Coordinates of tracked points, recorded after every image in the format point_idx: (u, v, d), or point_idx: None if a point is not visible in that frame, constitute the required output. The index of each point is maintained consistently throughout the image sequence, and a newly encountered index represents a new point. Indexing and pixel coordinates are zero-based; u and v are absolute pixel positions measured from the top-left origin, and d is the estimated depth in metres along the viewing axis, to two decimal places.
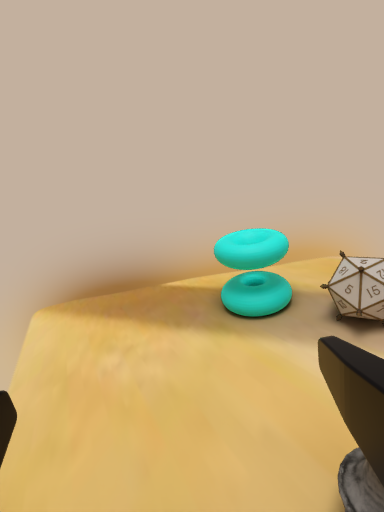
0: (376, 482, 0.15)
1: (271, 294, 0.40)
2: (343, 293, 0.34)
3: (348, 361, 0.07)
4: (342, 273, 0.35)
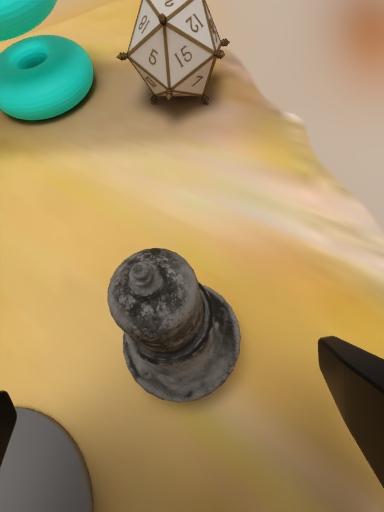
0: None
1: (57, 79, 0.27)
2: (148, 65, 0.24)
3: (348, 361, 0.07)
4: (143, 28, 0.23)
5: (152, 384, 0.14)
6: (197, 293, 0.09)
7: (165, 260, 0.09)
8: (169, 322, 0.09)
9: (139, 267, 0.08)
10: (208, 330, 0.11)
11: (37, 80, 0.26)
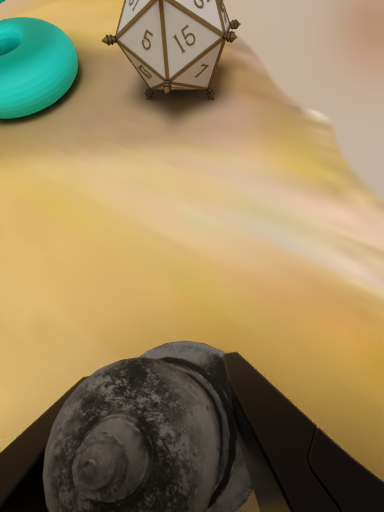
0: None
1: (32, 69, 0.22)
2: (141, 50, 0.19)
3: (232, 380, 0.07)
4: (134, 4, 0.18)
5: None
6: (217, 460, 0.05)
7: (155, 400, 0.05)
8: None
9: (90, 470, 0.03)
10: (229, 466, 0.07)
11: (7, 70, 0.22)
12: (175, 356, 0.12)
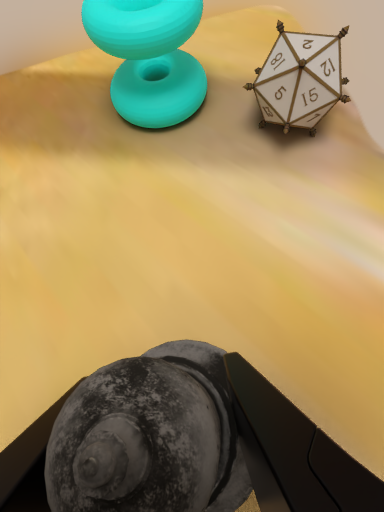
0: None
1: (178, 95, 0.29)
2: (272, 99, 0.25)
3: (232, 380, 0.07)
4: (276, 65, 0.24)
5: None
6: (217, 458, 0.05)
7: (155, 399, 0.05)
8: None
9: (90, 468, 0.03)
10: (229, 464, 0.07)
11: (161, 94, 0.29)
12: (176, 355, 0.12)
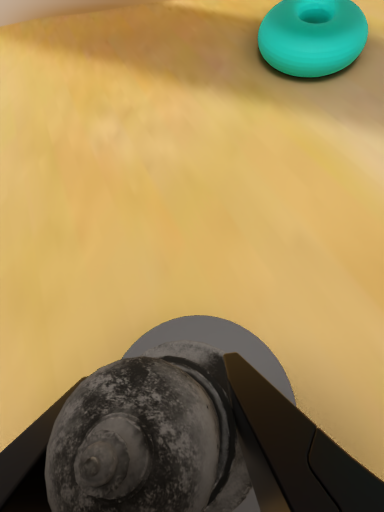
0: None
1: (339, 42, 0.26)
2: None
3: (232, 380, 0.07)
4: None
5: None
6: (217, 458, 0.05)
7: (155, 399, 0.05)
8: None
9: (92, 468, 0.03)
10: (228, 464, 0.07)
11: (320, 37, 0.26)
12: (175, 355, 0.12)
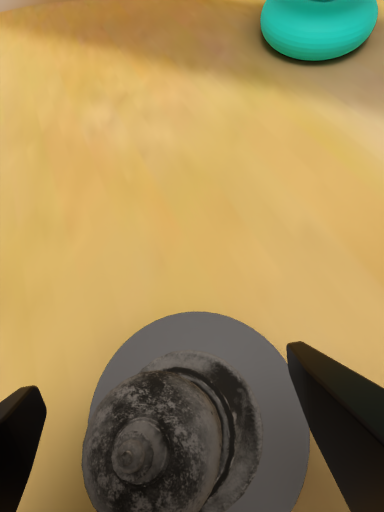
0: None
1: (347, 21, 0.25)
2: None
3: (310, 367, 0.07)
4: None
5: None
6: (219, 454, 0.06)
7: (171, 406, 0.06)
8: None
9: (128, 459, 0.05)
10: (228, 461, 0.08)
11: (328, 16, 0.25)
12: (180, 363, 0.13)
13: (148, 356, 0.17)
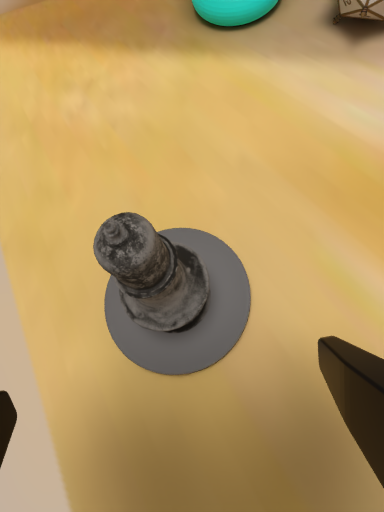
0: None
1: None
2: None
3: (348, 361, 0.07)
4: None
5: (146, 321, 0.19)
6: (155, 239, 0.13)
7: (128, 219, 0.13)
8: (136, 259, 0.13)
9: (108, 224, 0.12)
10: (174, 268, 0.16)
11: None
12: None
13: None
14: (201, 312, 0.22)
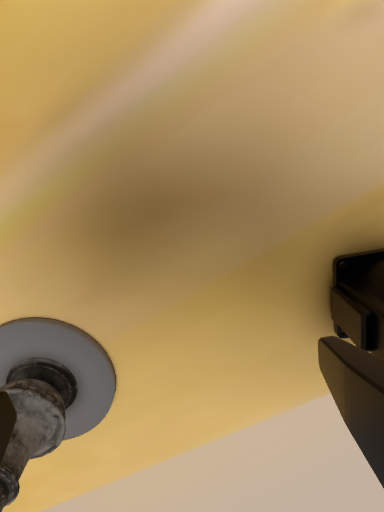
0: (26, 463, 0.19)
1: None
2: None
3: (348, 361, 0.07)
4: None
5: (57, 437, 0.20)
6: None
7: None
8: None
9: None
10: None
11: None
12: None
13: None
14: (54, 366, 0.23)
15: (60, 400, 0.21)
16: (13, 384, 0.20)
